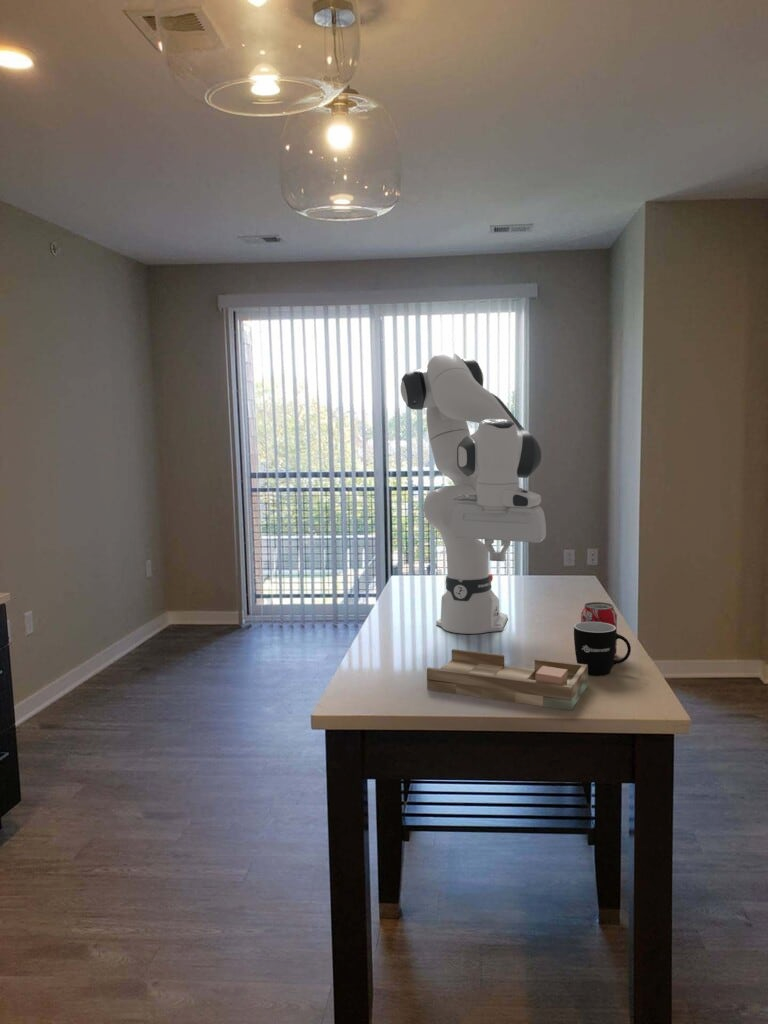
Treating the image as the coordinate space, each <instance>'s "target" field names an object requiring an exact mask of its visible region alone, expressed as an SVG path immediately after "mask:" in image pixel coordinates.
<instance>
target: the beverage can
mask: <svg viewBox="0 0 768 1024" xmlns="http://www.w3.org/2000/svg"><path fill="white" fill-rule="evenodd" d="M614 608H615V607H614V605H613V604H612V603H610V602H609V603H608V602H600V601H593V602H592V601H591V602H587V603H585V604H584V607H583V610H582V611H581V613H580V614H581V616H580V617H581V618H580V620H581V621H580V623H581V622H603V623H608V624H611V625H614V626H615V627H616V633H617V631H618V630H617V629H618V627H617V626H618V622H617V621H618V614H617V612H616V610H615V609H614ZM617 634H618V633H617ZM617 641H618V639H617V640H616V647H615V655H616V654H617V645H618V644H617Z"/></svg>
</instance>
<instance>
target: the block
mask: <svg viewBox="0 0 768 1024" xmlns="http://www.w3.org/2000/svg"><path fill="white" fill-rule="evenodd" d="M567 671H568V670H567V669H561V668H554V667H548V666H542V667H541V668H540V669H539V670H538V671H537V672H536V681H538V682H546V683H554V684H561V685H567Z"/></svg>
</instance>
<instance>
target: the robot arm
mask: <svg viewBox="0 0 768 1024" xmlns="http://www.w3.org/2000/svg"><path fill="white" fill-rule="evenodd" d="M400 394H401V397H402V400H403V401H404V403H405V404H406V406H407V407H408V408H409V409H410V410H416V411H419V410H423V409H426V412H425V413H426V426H427V428H426V429H427V435H428V438H429V443H430V444H429V445H430V446H431V447H430V448H431V451H432V454H433V455H432V456H433V459H434V463H435V466H436V469H437V470H438V471H439V472H440V474H443V475H444V476H446V477H447V478H449V479H450V480H451V481H452V483H453V484H454V485H446V486H442V487H439V488H437V489H434V490H430V491H429V492H428V493H427V494H426V496H425V498H424V501H423V505H422V506H423V507H422V508H423V509H422V510H423V514H424V517H425V518H426V520H427V522H428V523H429V524H430V525H431V526H433V527H434V528H435V529H436V530H437V531H438V533H439V535H440V536H441V539H442V541H443V544H444V547H445V553H446V571H447V573H446V577H445V590H446V591H445V592H444V594H442V596H441V599H440V600H441V601H440V602H441V603H440V619H437V620H436V621H435V624H436V626H439V627H441V628H442V629H443V630H445V631H447V632H450V633H456V634H465V635H466V634H468V635H469V634H471V635H472V634H473V635H475V634H484V633H489V632H490V633H491V632H503V629H504V627H505V625H506V622H507V620H508V614H506V613H504V612H500V599H499V597H498V596H497V595H496V594H495V592H493V590H492V582H493V579H494V578H493V576H494V575H493V574H491V573H490V574H489V560H490V561H493V562H504V561H506V553H507V551H508V549H509V548H510V545H511V542H524V543H538V544H539V543H541V542H542V541H543V540H545V539H546V537H547V524H546V517H545V512H544V510H543V508H542V506H539V505H540V504H541V502H542V496H541V495H540V494H538V493H536V492H533V491H530V490H527V489H525V488H522V487H520V480H519V478H521V479H523V478H524V479H526V478H529V477H530V476H531V475H532V474H534V473H535V471H536V470H537V469H538V468H539V466H540V465H541V461H542V449H541V446H540V444H539V442H538V440H537V439H536V438H535V437H534V435H532V434H531V433H530V432H529V431H527V430H526V429H525V428H524V427H523V426H522V424H521V423H520V422H519V420H518V419H517V418H516V417H515V416H514V415H513V413H512V412H511V411H510V409H509V408H508V407H507V405H506V404H505V403H504V402H503V401H502V399H500V398H499V396H497V395H496V394H494V393H492V392H490V391H489V390H487V389H486V388H485V387H484V374H483V371H482V369H481V367H480V365H479V363H478V362H477V361H476V360H475V359H472V358H461V357H460V356H459V355H458V354H456V353H454V352H451V351H441V352H438V353H437V354H435V355H433V356H432V357H431V359H430V360H428V363H427V366H426V367H422V368H418V369H412V370H410V371H408V372H406V373H404V375H403V377H401V384H400ZM467 422H471V423H476V424H477V423H478V426H477V430H476V431H475V432H474V433H472V434H471V432H470V429H469V426H468V423H467ZM481 540H484V542H482V541H481ZM494 541H500V545H501V546H502V548H501V550H500V551H496V550H495V548H494V546H493V544H494V543H495V542H494Z"/></svg>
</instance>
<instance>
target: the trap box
mask: <svg viewBox="0 0 768 1024" xmlns="http://www.w3.org/2000/svg"><path fill="white" fill-rule="evenodd" d="M542 666H548V667H554V668H561V669H567V670H568V671H567V685H561V684H554V683H546V682H538V681H536V672H537V671H538V670H539V669H540V668H541V667H542ZM588 681H589V675H588V665H586V664H578V663H577V662H569V661H558V660H550V659H543V658H542V659H541V658H535V659H534V668H527V667H516V666H510V665H509V666H508V665H505V654H501V653H500V654H499V653H498V654H497V653H492V652H491V653H489V652H481V651H475V650H474V651H472V650H466V649H465V650H464V649H458V648H457V649H456V648H455V649H454V648H453V649H451V659H450V660H449V661H448V662H446V664H444V665H443V666H442V667H441V668H437V667H427V668H426V690H427V691H435V692H440V693H441V692H442V693H447V694H448V693H449V694H457V695H463V696H468V697H469V696H470V697H478V698H483V699H490V700H496V701H502V702H503V701H504V702H509V703H510V702H511V703H519V704H524V705H532V706H538V707H546V708H552V709H559V710H565V711H567V710H568V711H572V710H573V709H574V707H575V706H576V704H577V703H578V701H579V699H580V698H581V696H582V695H583V694H584V692H585V690H586V689H587V688H588V686H589V683H588Z"/></svg>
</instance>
